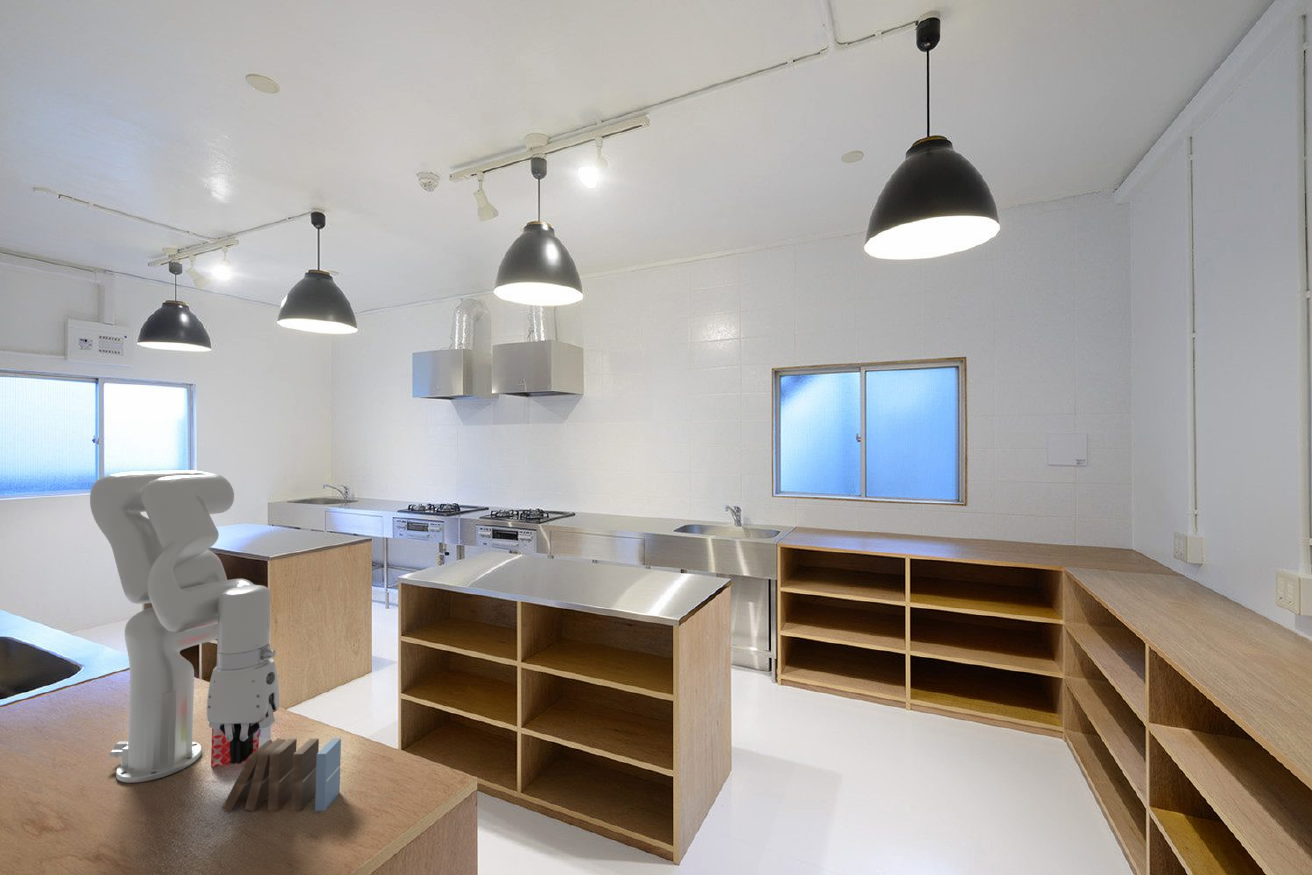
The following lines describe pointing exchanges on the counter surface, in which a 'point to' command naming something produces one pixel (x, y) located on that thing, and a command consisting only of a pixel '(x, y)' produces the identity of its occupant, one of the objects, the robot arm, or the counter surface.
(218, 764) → the red patterned cube
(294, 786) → the domino
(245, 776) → the domino
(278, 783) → the domino
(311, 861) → the counter surface
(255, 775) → the domino
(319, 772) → the domino
